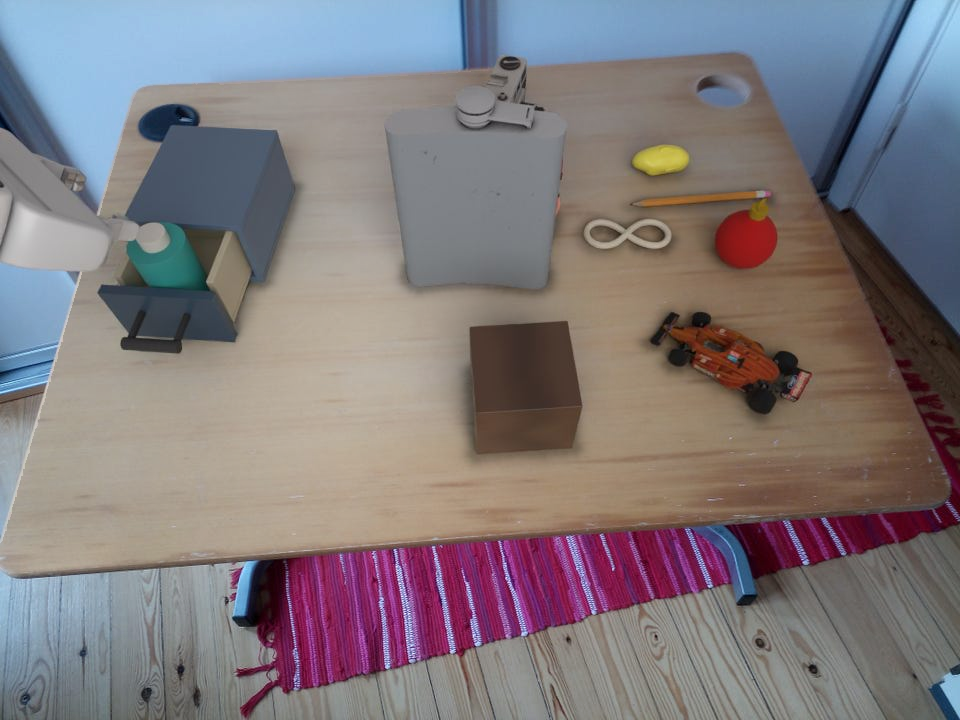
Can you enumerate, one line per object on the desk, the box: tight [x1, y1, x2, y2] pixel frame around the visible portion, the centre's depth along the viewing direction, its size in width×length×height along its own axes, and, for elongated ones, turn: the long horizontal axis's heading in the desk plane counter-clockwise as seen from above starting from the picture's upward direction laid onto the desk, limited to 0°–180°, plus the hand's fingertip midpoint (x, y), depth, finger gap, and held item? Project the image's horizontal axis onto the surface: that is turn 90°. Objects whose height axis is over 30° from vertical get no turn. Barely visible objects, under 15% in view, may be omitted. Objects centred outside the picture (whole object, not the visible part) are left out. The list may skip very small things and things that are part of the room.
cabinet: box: [123, 124, 296, 283], centre depth 83 cm, size 17×14×10 cm
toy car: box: [649, 311, 813, 415], centre depth 74 cm, size 8×16×4 cm, turn 53°
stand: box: [468, 320, 584, 455], centre depth 69 cm, size 10×10×9 cm
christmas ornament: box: [714, 197, 779, 270], centre depth 80 cm, size 7×7×10 cm
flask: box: [383, 85, 567, 291], centre depth 72 cm, size 17×5×25 cm, turn 88°
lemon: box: [631, 144, 691, 176], centre depth 91 cm, size 4×8×4 cm, turn 92°
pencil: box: [629, 189, 772, 208], centre depth 89 cm, size 1×1×19 cm
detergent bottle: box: [125, 222, 211, 291], centre depth 73 cm, size 6×6×12 cm
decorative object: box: [582, 218, 672, 250], centre depth 86 cm, size 11×1×5 cm
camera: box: [484, 54, 547, 112], centre depth 92 cm, size 14×9×10 cm, turn 156°
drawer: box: [96, 226, 253, 355], centre depth 76 cm, size 20×12×8 cm, turn 175°
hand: (106, 204), depth 63 cm, fingers open, 8 cm apart
